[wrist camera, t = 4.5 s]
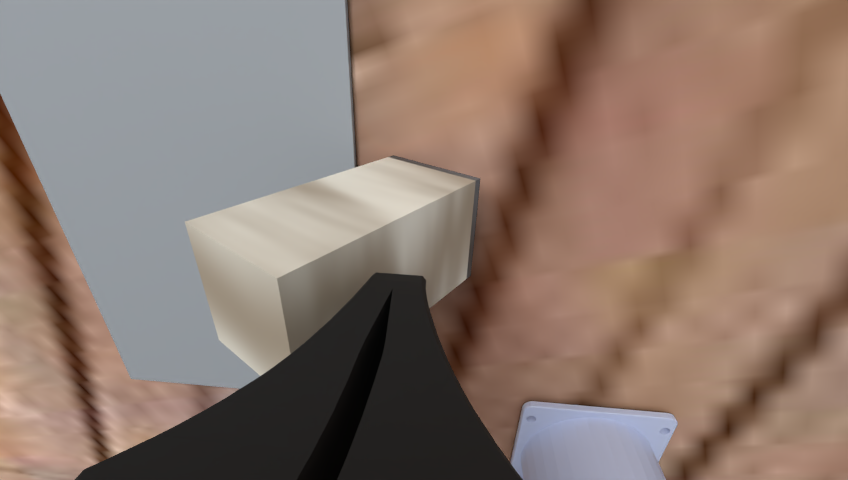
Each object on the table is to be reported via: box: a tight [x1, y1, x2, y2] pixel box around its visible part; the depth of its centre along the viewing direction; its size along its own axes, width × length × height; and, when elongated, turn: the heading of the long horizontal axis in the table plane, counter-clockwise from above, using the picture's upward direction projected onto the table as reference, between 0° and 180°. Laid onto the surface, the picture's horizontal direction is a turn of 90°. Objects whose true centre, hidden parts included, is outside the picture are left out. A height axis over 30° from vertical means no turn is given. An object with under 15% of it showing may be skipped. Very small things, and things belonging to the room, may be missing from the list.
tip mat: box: [0, 0, 356, 389], centre depth 17 cm, size 24×14×1 cm, turn 179°
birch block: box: [185, 156, 480, 376], centre depth 13 cm, size 4×4×8 cm
